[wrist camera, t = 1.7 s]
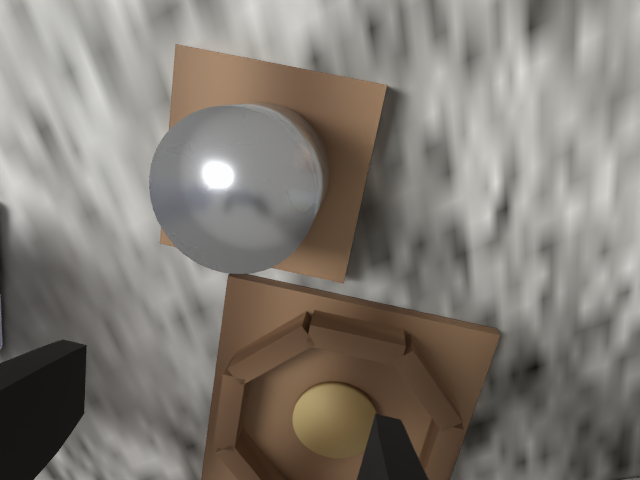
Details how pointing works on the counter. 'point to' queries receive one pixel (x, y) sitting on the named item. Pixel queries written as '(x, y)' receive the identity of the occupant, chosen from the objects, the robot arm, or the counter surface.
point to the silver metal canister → (239, 185)
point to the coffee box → (638, 479)
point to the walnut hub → (335, 382)
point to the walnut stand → (320, 111)
